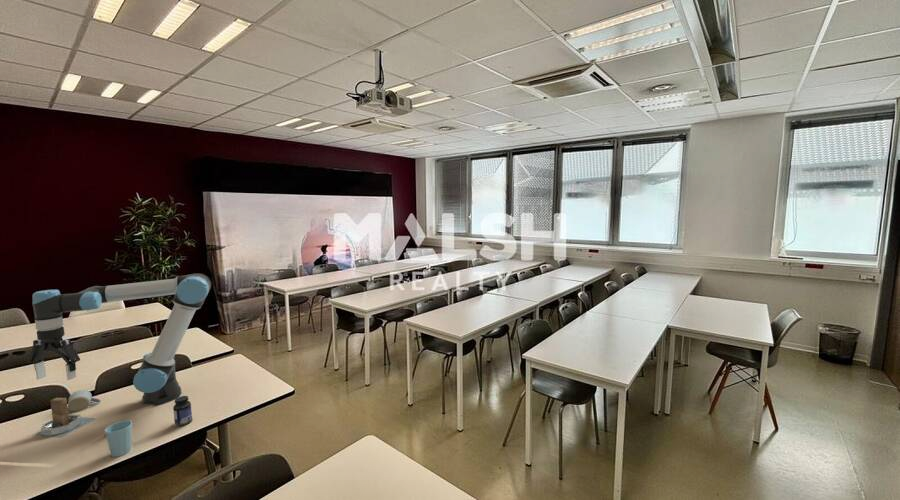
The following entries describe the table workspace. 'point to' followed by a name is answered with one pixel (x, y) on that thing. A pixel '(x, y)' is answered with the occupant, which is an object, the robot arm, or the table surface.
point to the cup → (119, 438)
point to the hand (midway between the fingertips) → (56, 378)
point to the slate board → (83, 421)
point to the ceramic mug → (81, 400)
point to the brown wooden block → (60, 411)
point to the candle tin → (56, 429)
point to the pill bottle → (182, 411)
